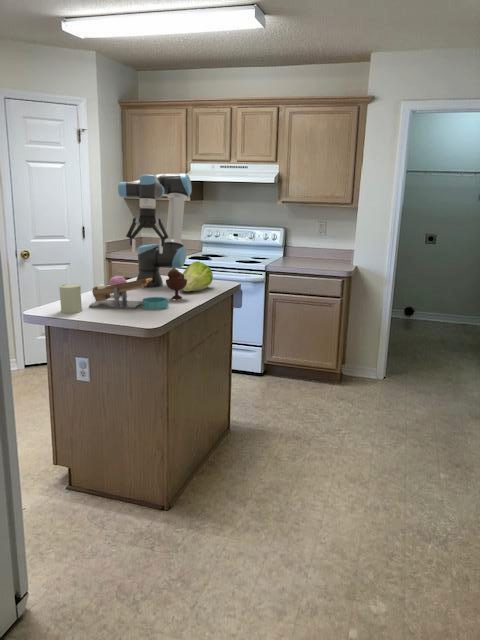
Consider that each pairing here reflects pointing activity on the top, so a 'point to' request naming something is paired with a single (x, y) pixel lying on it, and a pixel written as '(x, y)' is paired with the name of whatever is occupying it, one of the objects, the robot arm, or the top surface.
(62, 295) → the can
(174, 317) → the top surface
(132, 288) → the chute
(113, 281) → the cupcake
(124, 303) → the chute stand
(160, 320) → the top surface
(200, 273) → the lettuce
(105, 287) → the ball
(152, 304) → the teal bowl
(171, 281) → the ice cream bowl
